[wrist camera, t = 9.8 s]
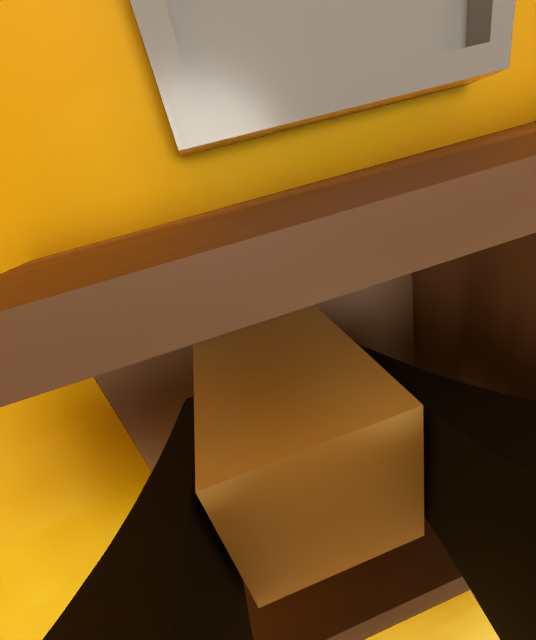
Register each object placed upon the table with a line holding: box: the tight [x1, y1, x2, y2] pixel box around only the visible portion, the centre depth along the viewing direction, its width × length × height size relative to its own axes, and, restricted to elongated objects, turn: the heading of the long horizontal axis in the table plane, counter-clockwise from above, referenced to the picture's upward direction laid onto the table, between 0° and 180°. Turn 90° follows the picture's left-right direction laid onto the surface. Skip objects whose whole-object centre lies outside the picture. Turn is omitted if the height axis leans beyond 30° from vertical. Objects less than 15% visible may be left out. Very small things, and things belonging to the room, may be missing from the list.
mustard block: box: [193, 305, 424, 608], centre depth 8 cm, size 4×4×5 cm
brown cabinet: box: [0, 121, 536, 640], centre depth 9 cm, size 11×20×5 cm, turn 104°
